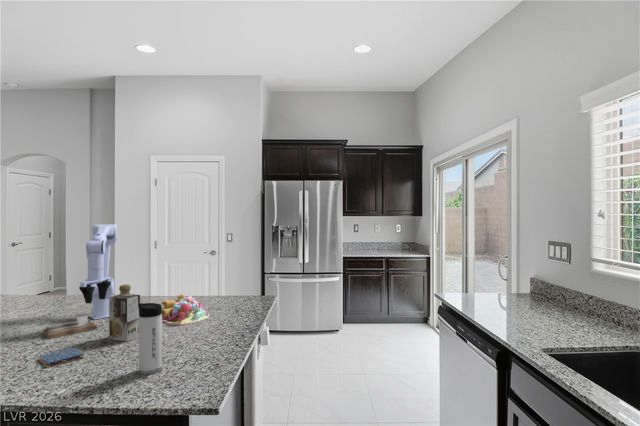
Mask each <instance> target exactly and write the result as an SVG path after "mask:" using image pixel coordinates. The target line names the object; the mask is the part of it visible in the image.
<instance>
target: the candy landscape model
mask: <svg viewBox="0 0 640 426" xmlns="http://www.w3.org/2000/svg"><path fill="white" fill-rule="evenodd" d="M160 305H161V306H163V307H162V323H165V324H166V325H169V326H171V325H172V326H186V325H191V324H196V323H199V322H202V321H205V320H207V319H208V318H210V316H211V315H210V312H209V311H206V310H205V309H204V307H203V305H202V302H201V301H200V298H198V300H197V298H195V297H192V295H190V296H187V297H186V296H185V294H183V293H182V294H181V293H180V294H178V295H177V299H175V300H173V299H172V300H170V299H167V300H164V301H162V302H161V304H160ZM204 319H205V320H204Z"/></svg>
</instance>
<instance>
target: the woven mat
mask: <svg viewBox="0 0 640 426" xmlns="http://www.w3.org/2000/svg"><path fill="white" fill-rule="evenodd" d="M80 358H81V359H84V358H85V355H84V353H83V352H82V351H81V350H79V349H77V348H76V347H69V348H66V349H65V348H64V349H61V350H57V351H55V352H54V351H52V352H49V353H48V352H47V353H45V354H43V355H42V354H40V356H39V357H38V361H39V362H40V363H42V364H43V366H44V367H45V368H52V367H55V366H59V365H60V366H61V365H63V364H66V363H70V361H71V362H73V361H78V360H81V359H80ZM72 359H73V360H72ZM77 359H78V360H77Z"/></svg>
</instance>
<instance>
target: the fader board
mask: <svg viewBox="0 0 640 426" xmlns="http://www.w3.org/2000/svg"><path fill="white" fill-rule="evenodd" d="M97 329H98V325H97V324H96V323H95V322H94V321H92V320H91V319H90V318H88V323H85V324H80V325H77V324H76V321H74V322H73V321H72V322H68V323H62V324H58V325H51V326H46V327H45V328H43V329H42V333H43V334H44V335H43V336H44V337H46V338H47V339H48V340H50V339H55V338H60V337H64V336H70V335H74V334H79V333H83V332H88V331H93V330H97Z"/></svg>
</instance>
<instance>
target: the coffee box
mask: <svg viewBox="0 0 640 426" xmlns="http://www.w3.org/2000/svg"><path fill="white" fill-rule="evenodd" d="M140 303H141V295H140V294H135V293H134V294H133V293H130V294H120V293H119V294H115V295H112V297H109V317H108V318H109V321H108V322H109V323H108V324H109V327H108V329H109V330H108V331H109V333H108V334H109V335H108V336H109V338H108V339H109V340H114V341H119V342H130V341H132V340H133V341H134V340H135V339H139V307H138V305H139V304H140Z"/></svg>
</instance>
